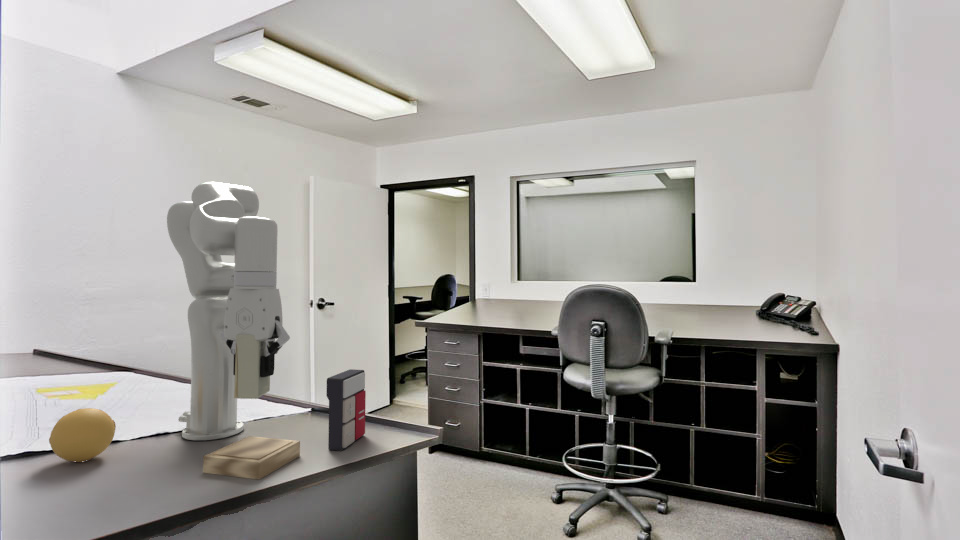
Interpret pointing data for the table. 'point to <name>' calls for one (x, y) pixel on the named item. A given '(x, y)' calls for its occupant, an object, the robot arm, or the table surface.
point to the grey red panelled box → (346, 408)
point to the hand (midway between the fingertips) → (253, 374)
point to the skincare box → (249, 368)
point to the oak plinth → (251, 457)
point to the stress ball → (82, 434)
